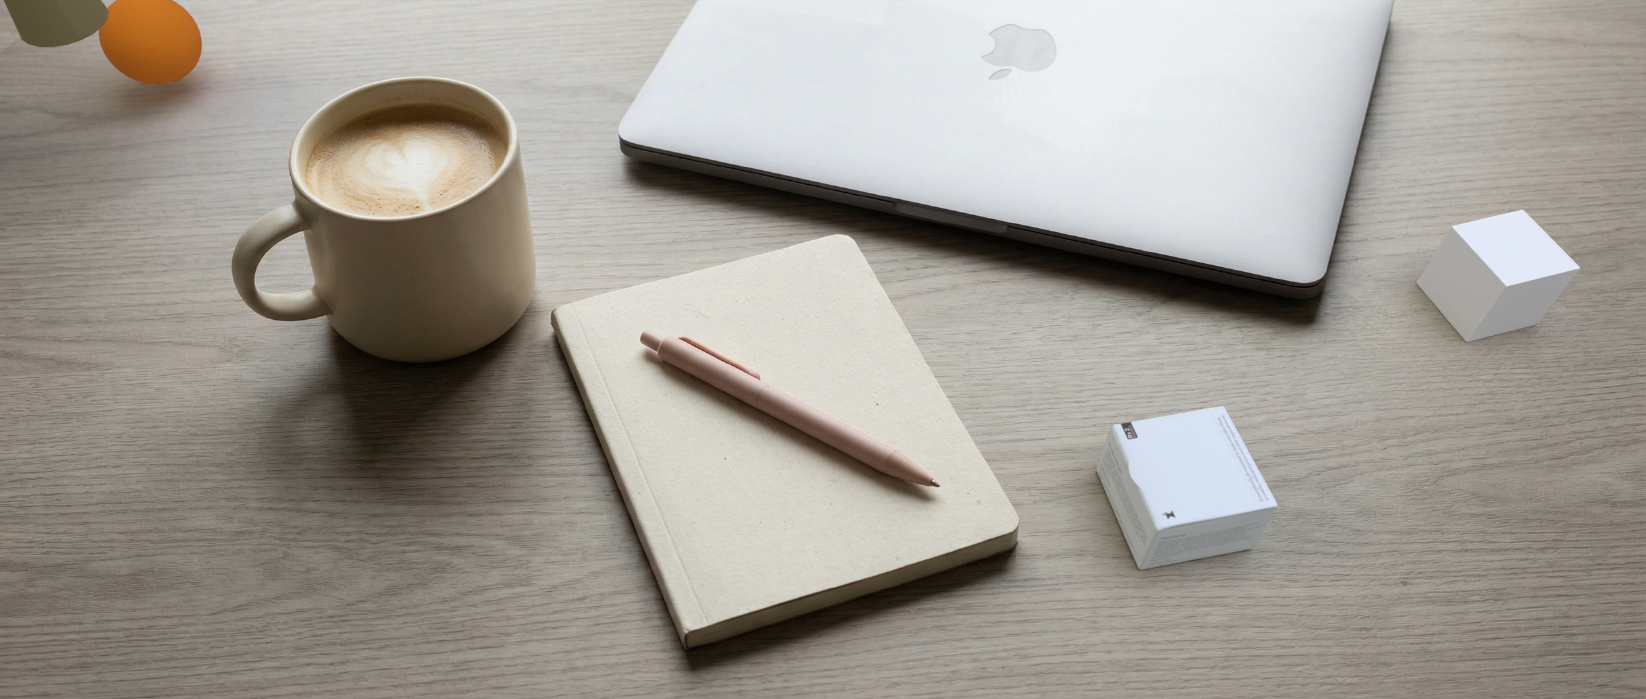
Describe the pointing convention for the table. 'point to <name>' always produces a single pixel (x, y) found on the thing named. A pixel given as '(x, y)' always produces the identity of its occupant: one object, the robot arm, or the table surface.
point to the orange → (151, 40)
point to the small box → (1184, 487)
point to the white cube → (1496, 275)
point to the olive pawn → (56, 20)
